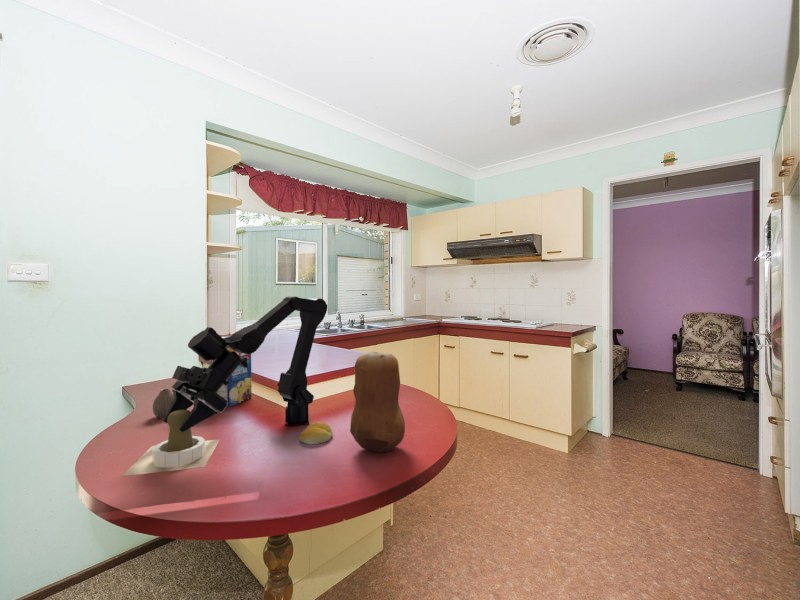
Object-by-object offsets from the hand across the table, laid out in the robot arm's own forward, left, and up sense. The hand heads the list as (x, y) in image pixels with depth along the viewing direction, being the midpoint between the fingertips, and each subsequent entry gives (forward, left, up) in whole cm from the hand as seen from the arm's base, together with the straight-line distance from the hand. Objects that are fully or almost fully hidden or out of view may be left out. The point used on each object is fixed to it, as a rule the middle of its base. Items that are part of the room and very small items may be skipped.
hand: (172, 426), depth 86 cm
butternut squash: (-48, +5, -9) cm, 49 cm away
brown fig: (+14, -38, -9) cm, 41 cm away
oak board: (0, -2, -9) cm, 9 cm away
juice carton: (-4, -50, -9) cm, 51 cm away
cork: (-1, -1, -8) cm, 8 cm away
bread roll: (-33, -6, -9) cm, 35 cm away
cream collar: (-1, -1, -8) cm, 8 cm away
